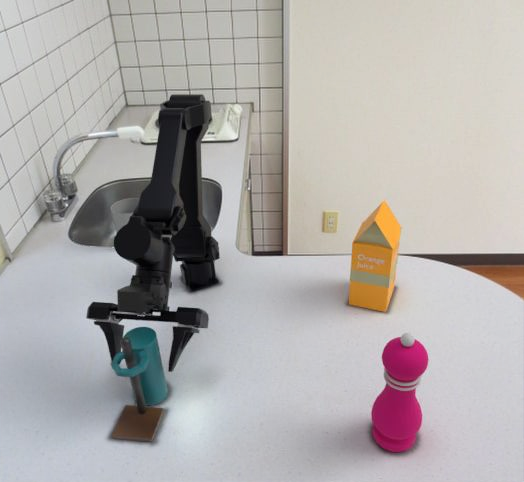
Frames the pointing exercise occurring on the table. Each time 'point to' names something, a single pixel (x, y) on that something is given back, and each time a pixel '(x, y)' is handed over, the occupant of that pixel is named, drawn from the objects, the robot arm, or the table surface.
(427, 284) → the table surface
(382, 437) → the pepper mill
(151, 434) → the peg stand
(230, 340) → the table surface
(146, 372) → the jug
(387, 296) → the orange juice
